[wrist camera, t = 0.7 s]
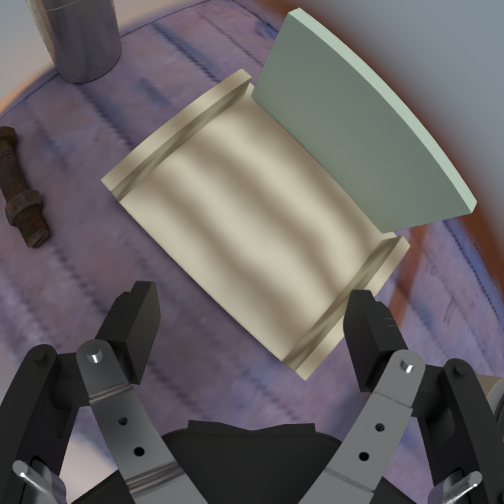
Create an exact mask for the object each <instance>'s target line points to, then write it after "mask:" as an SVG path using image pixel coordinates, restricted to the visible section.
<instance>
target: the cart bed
mask: <svg viewBox="0 0 504 504" xmlns="http://www.w3.org/2000/svg"><path fill="white" fill-rule="evenodd" d="M251 78H252V77H251V76H250V75H249V74H248V73H246V72H245V71H244V70H243V69H240V70H238V71H237V72H235V73H234V74H232V75H231V76H229V77H228V78H226V79H225V80H223V81H222V82H220V83H219V84H217V85H216V86H215V87H213V88H212V89H210V90H209V91H207V92H206V93H205V94H203V95H202V96H200V97H199V98H198V99H196V100H195V101H194V102H192V103H191V104H190V105H188V106H187V107H186V108H184V109H183V110H182V111H180V112H179V113H178V114H176V115H175V116H174V117H173V118H171V119H170V120H169V121H168V122H166V123H165V124H164V125H163V126H161V127H160V128H159V129H158V130H156V131H155V132H154V133H153V134H152V135H150V136H149V137H148V138H147V139H146V140H144V141H143V142H142V143H141V144H140V145H139V146H137V147H136V148H135V149H134V150H133V151H132V152H131V153H129V154H128V155H127V156H126V157H125V158H124V159H123V160H122V161H121V162H119V163H118V164H117V165H116V166H115V167H114V168H113V169H112V170H111V171H110V172H109V173H108V174H107V175H106V176H105V177H103V178H102V179H101V181H102V182H103V184H104V185H105V186H106V187H107V189H108V190H109V191H110V192H111V194H112V195H113V196H114V197H115V199H116V200H117V201H118V202H119V203H120V204H121V205H122V206H123V207H124V209H125V210H126V211H127V212H128V213H129V214H130V215H131V216H132V217H133V218H134V219H135V220H136V221H137V222H138V223H139V225H140V226H141V227H142V228H143V229H144V230H145V231H146V232H147V233H148V234H149V235H150V236H151V237H152V238H153V239H154V240H155V241H156V242H157V243H158V244H159V245H160V246H161V247H162V248H163V250H164V251H165V252H166V253H167V254H168V255H169V256H170V257H171V258H172V259H173V260H174V261H175V262H176V263H177V264H178V265H179V266H180V267H181V268H182V269H183V270H184V271H185V272H186V273H187V274H188V275H189V276H190V277H191V278H192V279H193V280H194V281H195V282H196V283H197V284H198V285H199V286H200V287H201V288H203V289H204V290H205V291H206V292H207V293H208V294H209V295H210V296H211V297H212V298H213V299H214V300H215V301H216V302H217V303H218V304H219V305H220V306H221V307H222V308H223V309H224V310H225V311H226V312H228V313H229V314H230V315H231V316H232V317H233V318H234V319H235V320H236V321H237V322H238V323H239V324H240V325H241V326H242V327H244V328H245V329H246V330H247V331H248V332H249V333H250V334H251V335H252V336H253V337H254V338H255V339H257V340H258V341H259V342H260V343H261V344H262V345H263V346H264V347H265V348H267V349H268V350H269V351H270V352H271V353H272V354H273V355H274V356H275V357H277V358H278V359H279V360H280V361H281V362H282V363H283V364H285V365H286V366H287V367H288V368H290V369H291V370H292V371H294V372H295V373H296V374H297V375H299V376H300V377H301V378H303V379H304V380H305V381H306V379H307V378H308V377H309V376H310V375H311V374H312V373H313V372H314V371H315V369H316V368H317V367H318V366H319V365H320V364H321V363H322V361H323V360H324V359H325V358H326V357H327V356H328V354H329V353H330V352H331V351H332V350H333V349H334V347H335V346H336V345H337V344H338V343H339V341H340V340H341V339H342V338H343V337H344V332H343V319H344V315H345V311H346V307H347V303H348V300H349V296H350V292H351V291H352V290H370V291H371V292H372V294H373V297H375V296H376V294H377V293H378V291H379V290H380V289H381V287H382V286H383V285H384V283H385V282H386V280H387V279H388V278H389V276H390V275H391V273H392V272H393V271H394V269H395V268H396V266H397V265H398V263H399V262H400V261H401V259H402V258H403V256H404V255H405V253H406V252H407V250H408V249H409V247H410V245H409V243H408V242H407V241H406V239H405V238H404V237H403V236H399V237H397V236H396V235H395V234H394V232H393V231H392V232H388V233H384V234H382V233H381V232H380V231H379V229H378V228H377V227H376V226H375V225H374V223H373V222H372V221H371V220H370V219H369V218H368V216H367V215H366V214H365V213H364V212H363V211H362V209H361V208H360V207H359V206H358V205H357V204H356V202H355V201H354V200H353V199H352V198H351V197H350V196H349V195H348V193H347V192H346V191H345V190H344V189H343V188H342V187H341V186H340V185H339V184H338V182H337V181H336V180H335V179H334V178H333V177H332V176H331V175H330V174H329V173H328V172H327V171H326V170H325V169H324V167H323V166H322V165H321V164H320V163H319V162H318V161H317V160H316V159H315V158H314V157H313V156H312V155H311V154H310V153H309V152H308V151H307V150H306V149H305V148H304V147H303V146H302V145H301V144H300V143H299V142H298V141H297V140H296V139H295V138H294V137H293V136H292V135H291V134H290V133H289V132H288V131H287V130H286V129H285V128H284V127H283V126H282V125H281V124H280V123H279V122H278V121H277V120H276V119H274V118H273V117H272V116H271V115H270V114H269V113H268V112H267V111H266V110H265V109H264V108H263V107H262V106H260V105H259V104H258V103H257V102H256V101H255V100H254V99H253V98H252V97H251V94H252V91H253V89H254V87H255V86H253V85H252V84H251V83H250V80H251Z"/></svg>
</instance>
